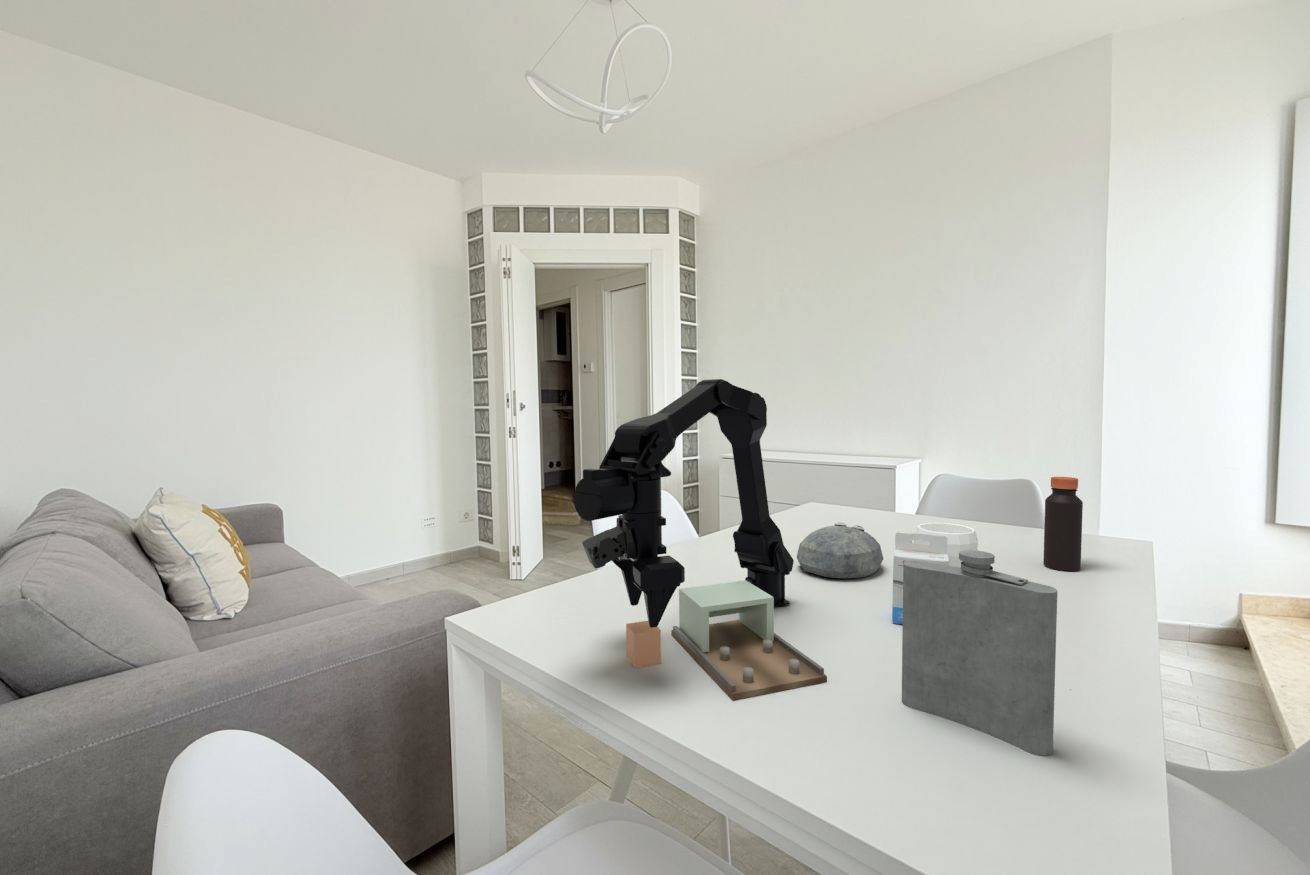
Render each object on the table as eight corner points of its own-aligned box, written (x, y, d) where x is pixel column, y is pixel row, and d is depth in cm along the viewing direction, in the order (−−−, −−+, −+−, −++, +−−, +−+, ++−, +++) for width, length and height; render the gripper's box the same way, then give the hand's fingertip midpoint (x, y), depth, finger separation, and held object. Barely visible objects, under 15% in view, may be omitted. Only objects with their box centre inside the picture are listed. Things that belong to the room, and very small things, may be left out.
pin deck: (748, 623, 98) (748, 609, 98) (826, 681, 77) (826, 664, 77) (671, 634, 93) (671, 620, 93) (732, 700, 72) (732, 682, 72)
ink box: (891, 624, 97) (892, 537, 96) (892, 614, 101) (893, 531, 100) (948, 631, 93) (949, 542, 92) (947, 621, 97) (948, 535, 97)
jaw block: (652, 652, 87) (651, 620, 87) (660, 663, 83) (660, 629, 83) (626, 656, 86) (626, 623, 85) (634, 668, 82) (633, 633, 81)
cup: (989, 580, 119) (990, 534, 119) (929, 580, 119) (930, 534, 119) (958, 563, 132) (959, 521, 131) (904, 563, 132) (905, 522, 131)
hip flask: (897, 702, 71) (899, 544, 70) (911, 691, 74) (913, 538, 73) (1048, 760, 60) (1053, 570, 59) (1058, 743, 62) (1063, 563, 61)
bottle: (1039, 567, 127) (1042, 478, 126) (1047, 561, 132) (1050, 475, 131) (1076, 573, 123) (1079, 480, 121) (1084, 567, 127) (1086, 477, 126)
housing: (745, 620, 96) (745, 580, 96) (773, 640, 88) (773, 597, 87) (679, 630, 92) (678, 588, 92) (701, 652, 84) (701, 607, 84)
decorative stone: (779, 569, 129) (778, 525, 129) (835, 554, 142) (835, 513, 141) (846, 588, 115) (846, 539, 115) (902, 569, 128) (902, 525, 127)
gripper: (574, 503, 89) (576, 601, 90) (602, 527, 72) (605, 649, 73) (642, 498, 93) (643, 593, 94) (685, 520, 75) (687, 636, 76)
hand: (643, 615), depth 84 cm, fingers open, 9 cm apart
